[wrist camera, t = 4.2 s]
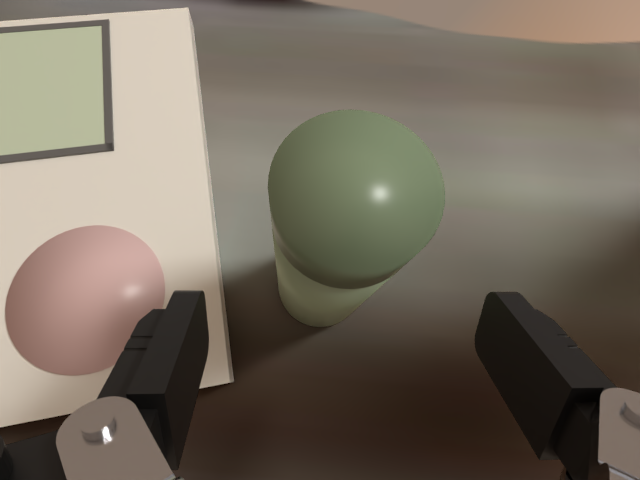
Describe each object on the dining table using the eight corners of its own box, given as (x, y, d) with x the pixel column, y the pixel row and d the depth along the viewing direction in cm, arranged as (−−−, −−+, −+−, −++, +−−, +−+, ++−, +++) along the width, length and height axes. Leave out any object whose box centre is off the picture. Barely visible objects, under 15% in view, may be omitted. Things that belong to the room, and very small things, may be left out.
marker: (351, 239, 22) (419, 101, 11) (368, 319, 21) (466, 255, 9) (272, 252, 22) (256, 119, 10) (285, 334, 20) (283, 286, 9)
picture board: (193, 27, 26) (187, 5, 24) (234, 381, 19) (229, 382, 18) (-44, 46, 24) (-67, 24, 22) (-87, 444, 18) (-123, 451, 16)
